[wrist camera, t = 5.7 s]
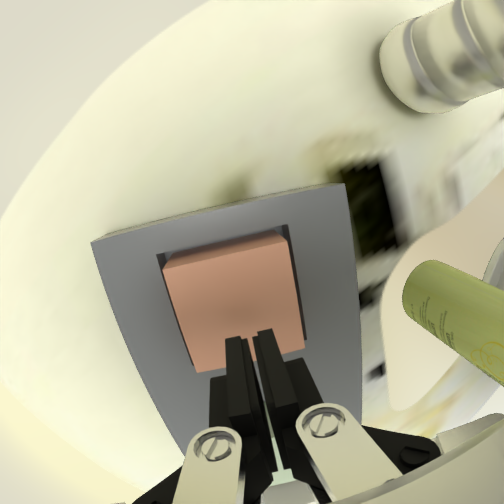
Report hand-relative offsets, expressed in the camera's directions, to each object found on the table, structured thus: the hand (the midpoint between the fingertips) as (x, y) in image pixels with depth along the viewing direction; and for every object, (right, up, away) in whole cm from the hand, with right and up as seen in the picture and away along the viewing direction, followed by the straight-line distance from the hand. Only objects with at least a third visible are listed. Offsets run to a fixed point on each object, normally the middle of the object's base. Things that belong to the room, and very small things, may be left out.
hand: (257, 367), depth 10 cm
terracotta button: (-1, +2, +8) cm, 8 cm away
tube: (+13, +1, +10) cm, 17 cm away
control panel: (+1, -8, +11) cm, 14 cm away
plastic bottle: (+11, +17, +7) cm, 21 cm away
